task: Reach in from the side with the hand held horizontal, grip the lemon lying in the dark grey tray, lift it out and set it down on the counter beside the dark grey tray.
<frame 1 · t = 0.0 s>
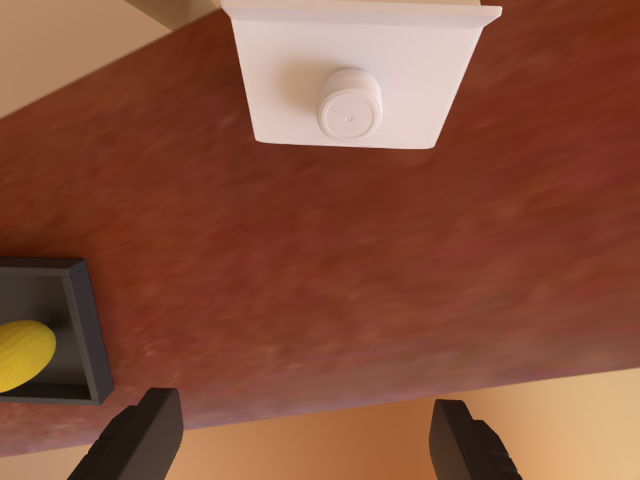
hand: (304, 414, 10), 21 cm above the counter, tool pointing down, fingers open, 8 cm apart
milk carton: (338, 92, 26), on the counter
lemon: (49, 328, 34), resting on dark grey tray
dark grey tray: (31, 326, 34), on the counter
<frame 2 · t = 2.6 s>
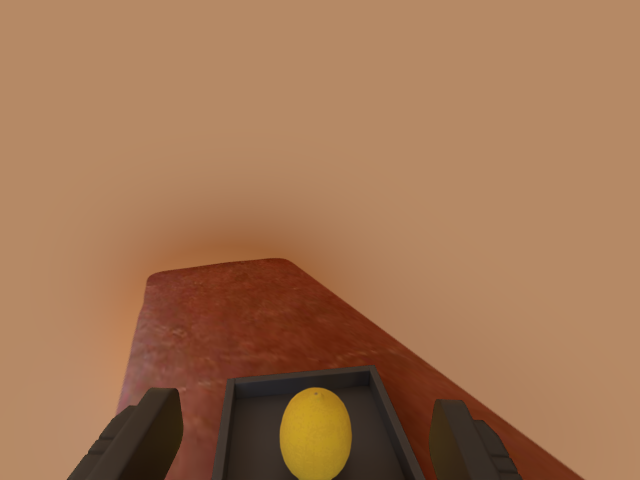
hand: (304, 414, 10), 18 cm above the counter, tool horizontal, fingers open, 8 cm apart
lemon: (315, 473, 27), resting on dark grey tray
dark grey tray: (312, 451, 29), on the counter
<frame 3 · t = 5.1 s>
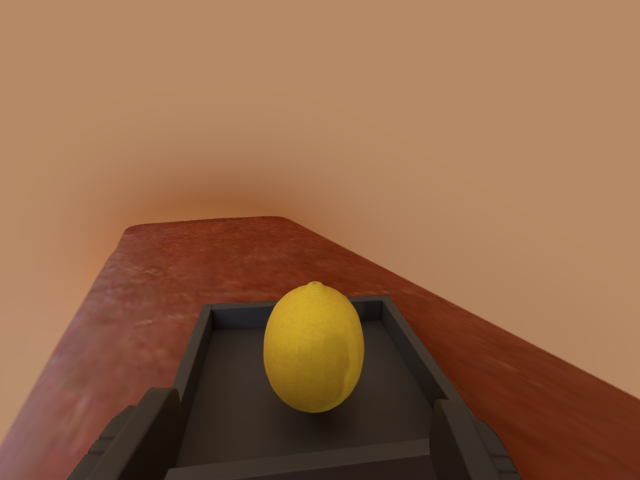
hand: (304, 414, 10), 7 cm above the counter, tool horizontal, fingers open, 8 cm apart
lemon: (312, 407, 20), resting on dark grey tray
dark grey tray: (308, 384, 21), on the counter
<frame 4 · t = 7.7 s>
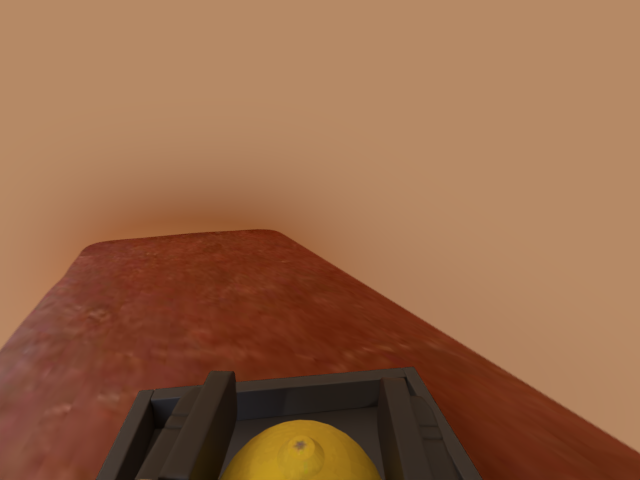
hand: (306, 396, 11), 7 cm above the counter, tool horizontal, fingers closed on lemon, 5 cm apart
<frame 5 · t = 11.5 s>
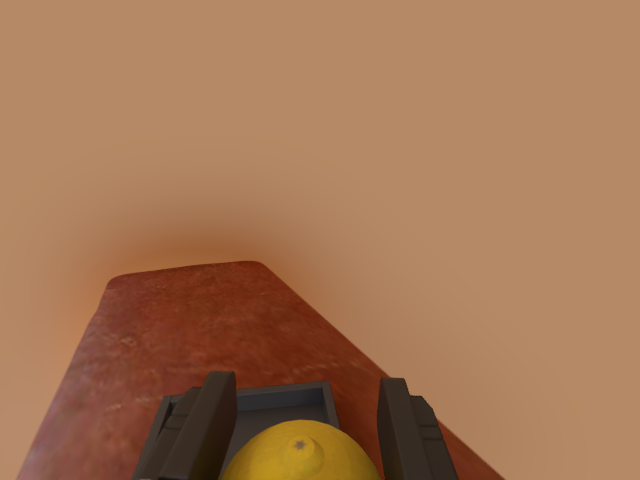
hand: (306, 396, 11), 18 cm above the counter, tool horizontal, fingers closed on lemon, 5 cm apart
when the fingers open (7 cm above the counter, at t = 15.3 s): lemon stays where it is, on the counter.
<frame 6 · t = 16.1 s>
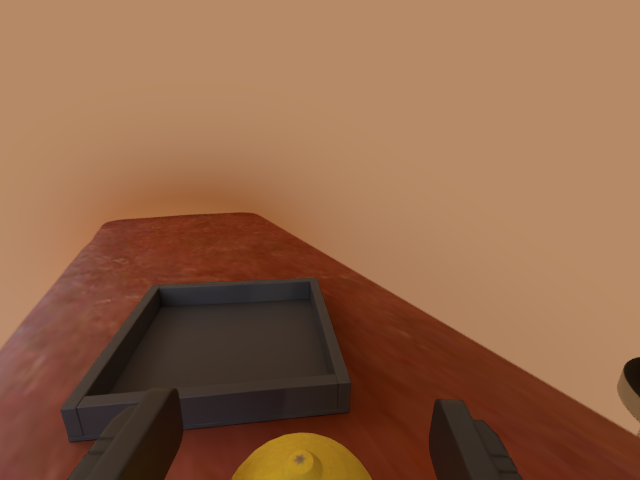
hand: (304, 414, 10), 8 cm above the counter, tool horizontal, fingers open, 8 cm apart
dark grey tray: (231, 347, 26), on the counter
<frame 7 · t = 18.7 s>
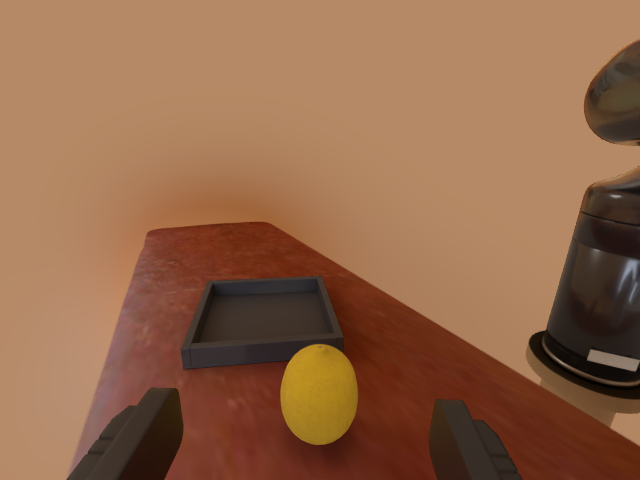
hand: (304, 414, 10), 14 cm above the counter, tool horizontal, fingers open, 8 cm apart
lemon: (318, 437, 25), on the counter
dark grey tray: (266, 321, 39), on the counter
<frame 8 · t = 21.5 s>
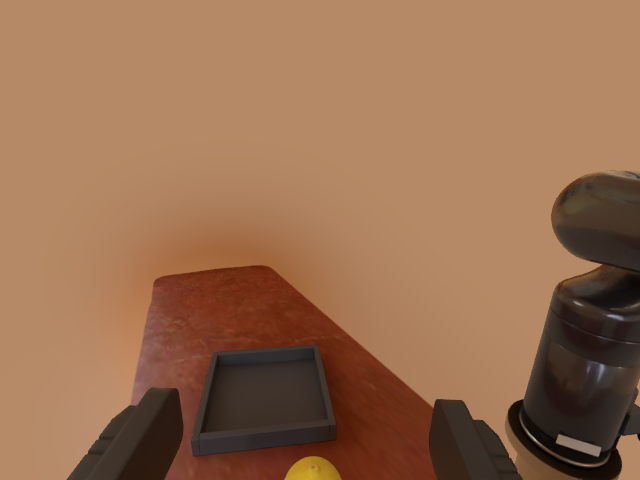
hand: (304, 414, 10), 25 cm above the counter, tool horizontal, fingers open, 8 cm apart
dark grey tray: (266, 397, 43), on the counter
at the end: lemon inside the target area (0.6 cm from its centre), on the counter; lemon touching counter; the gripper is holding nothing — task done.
